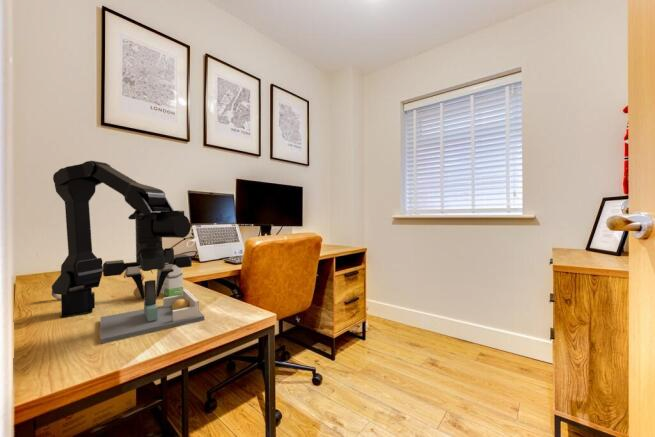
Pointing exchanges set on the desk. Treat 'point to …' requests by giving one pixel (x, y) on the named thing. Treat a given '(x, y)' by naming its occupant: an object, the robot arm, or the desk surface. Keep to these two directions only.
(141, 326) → the board
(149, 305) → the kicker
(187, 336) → the desk surface
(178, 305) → the ball
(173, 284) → the ink box
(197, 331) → the desk surface
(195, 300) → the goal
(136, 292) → the figurine
